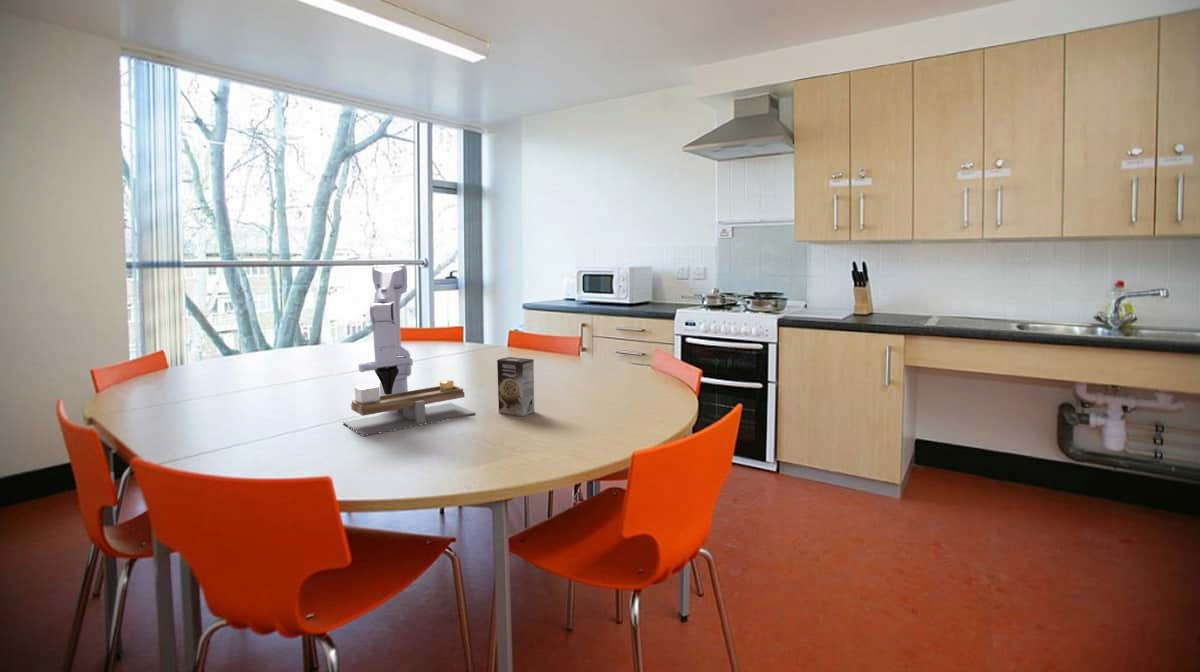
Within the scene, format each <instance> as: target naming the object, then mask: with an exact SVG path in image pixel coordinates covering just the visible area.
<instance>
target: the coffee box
mask: <svg viewBox="0 0 1200 672" xmlns="http://www.w3.org/2000/svg"><path fill="white" fill-rule="evenodd" d="M496 362H497V363H496V364H497V396H498V397H497V398H498V401H497V402H498V413H499V414H505V415H511V416H520V417H525V416H527V415H529V414H532V413H534V412H535V380H534V379H535V378H534V375H535V372H534V369H535V368H534V366H535V365H534V362H535V361H534V358H522V357H514V356H511V357H510V356H509V357H502V358H499V359H497V360H496Z"/></svg>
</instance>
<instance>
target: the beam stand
mask: <svg viewBox="0 0 1200 672" xmlns="http://www.w3.org/2000/svg"><path fill="white" fill-rule="evenodd" d="M475 415H476V412H475V411H472V410H470V409H467V408H465V407H463V406H460V405H457V404H454V403H452V402H449V403H448V402H447V403H443V404H438V405H437V404H436V405H431V406H427V407H426V404H425V401H423V400H422V401H416V402H415V406H413V407H408V408H402V409H397V410H395V412H391V413H387V414H381V415H374V416H369V417H364V418H358V419H352V420H345V421H342V424H343V423H344V424H346V425H347V426H349V427H350V428H352V429H354V430H355V431H357V432H358V433H360V434H362V435H367V434H373V435H375V434H374V433H378V434H380V433H379V432H383V433H386V432H385V431H388V432H391V431H390V430H394V429H399V430H401V429H400V428H404V427H409V428H411V427H410V426H414V427H416V426H415V425H419V426H421V425H420V424H424V425H426V424H425V423H430V424H432V423H431V422H435V423H438V422H437V421H440V422H443V421H442V420H445V421H448V420H447V419H450V420H454V418H455V419H459V417H460V418H465V416H466V417H469V416H475ZM344 424H343V425H344ZM347 426H346V427H347ZM350 428H349V429H350ZM352 429H351V430H352ZM404 429H405V428H404ZM355 431H354V432H355ZM394 431H395V430H394ZM358 433H357V434H358ZM360 434H359V435H360Z"/></svg>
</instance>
